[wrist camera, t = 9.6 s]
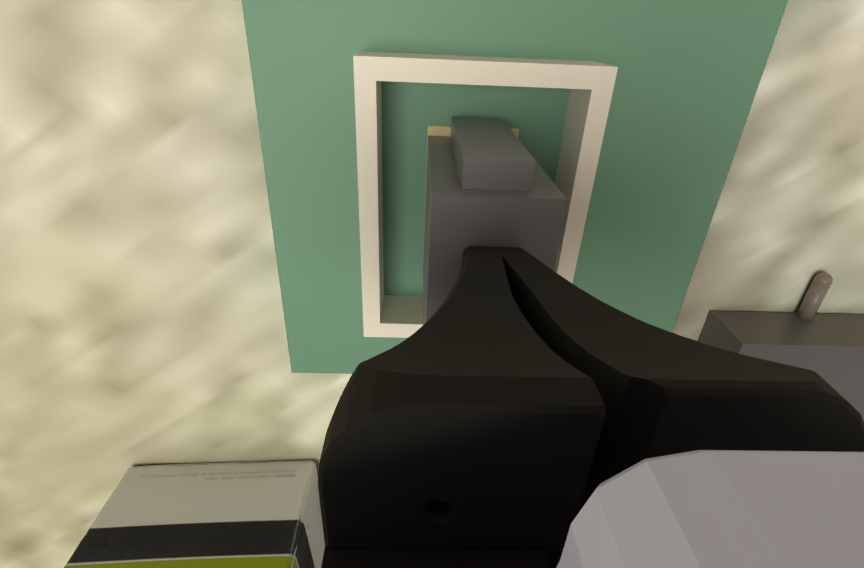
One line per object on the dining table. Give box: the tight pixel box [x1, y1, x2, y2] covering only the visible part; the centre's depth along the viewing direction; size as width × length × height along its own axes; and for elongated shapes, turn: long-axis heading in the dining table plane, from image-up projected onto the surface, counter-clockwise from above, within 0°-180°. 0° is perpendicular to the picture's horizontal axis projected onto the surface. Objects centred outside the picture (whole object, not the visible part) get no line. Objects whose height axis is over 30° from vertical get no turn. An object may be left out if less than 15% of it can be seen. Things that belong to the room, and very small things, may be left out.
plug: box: [423, 117, 567, 325], centre depth 14 cm, size 6×3×6 cm, turn 178°
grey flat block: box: [698, 273, 864, 421], centre depth 21 cm, size 10×8×3 cm
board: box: [242, 0, 788, 374], centre depth 16 cm, size 16×16×3 cm
